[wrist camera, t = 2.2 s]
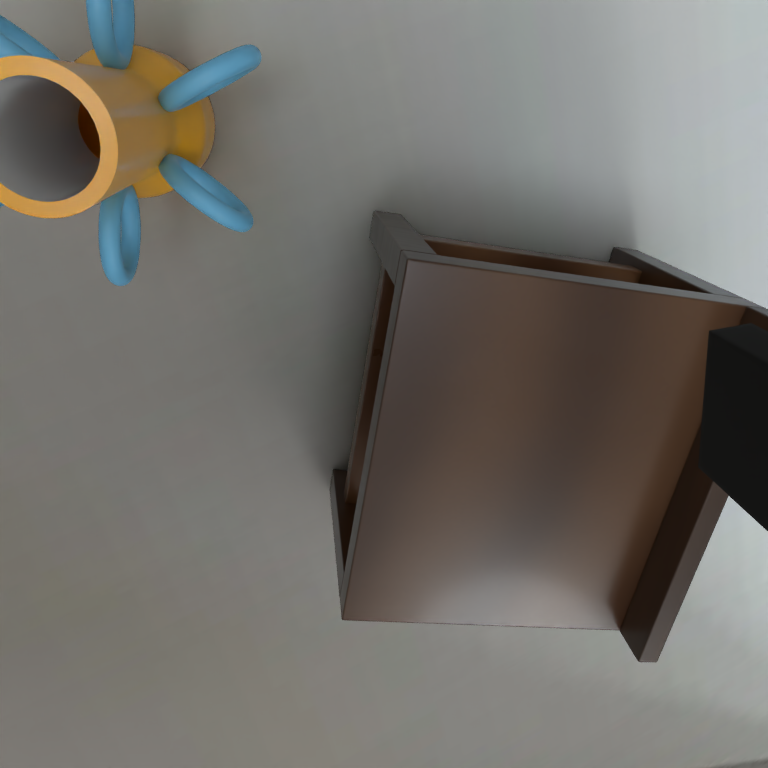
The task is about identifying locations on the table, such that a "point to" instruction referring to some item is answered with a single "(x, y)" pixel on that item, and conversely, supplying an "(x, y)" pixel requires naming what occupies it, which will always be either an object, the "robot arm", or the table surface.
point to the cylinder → (111, 131)
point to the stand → (529, 439)
